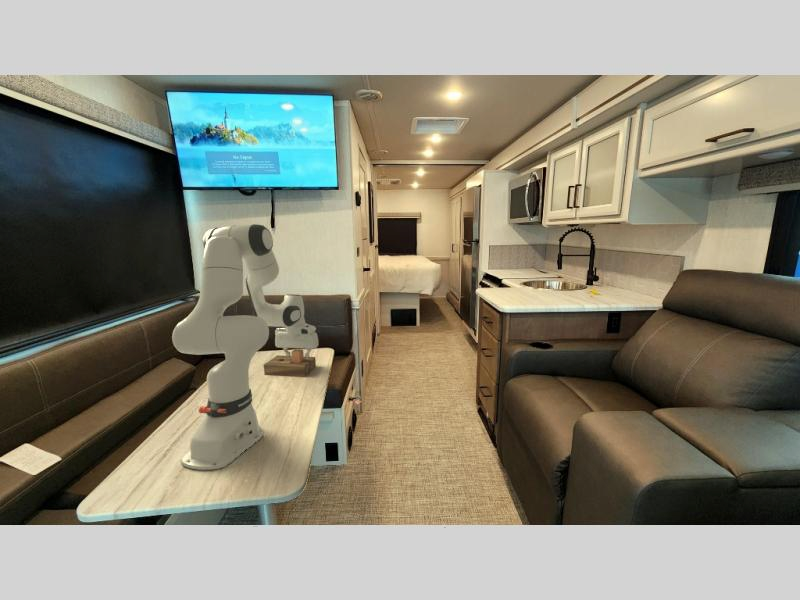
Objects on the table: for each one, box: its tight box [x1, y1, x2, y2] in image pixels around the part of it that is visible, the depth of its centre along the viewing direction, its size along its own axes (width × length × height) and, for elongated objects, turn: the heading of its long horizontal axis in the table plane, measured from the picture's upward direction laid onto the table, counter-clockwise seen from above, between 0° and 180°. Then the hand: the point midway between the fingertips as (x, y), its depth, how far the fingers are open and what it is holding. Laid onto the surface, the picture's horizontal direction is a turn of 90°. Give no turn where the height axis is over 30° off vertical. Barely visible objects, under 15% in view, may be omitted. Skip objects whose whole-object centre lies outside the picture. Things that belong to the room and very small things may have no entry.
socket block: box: [263, 354, 317, 378], centre depth 148 cm, size 12×20×5 cm, turn 82°
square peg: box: [290, 348, 305, 364], centre depth 147 cm, size 4×4×10 cm
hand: (297, 356), depth 147 cm, fingers open, 8 cm apart
